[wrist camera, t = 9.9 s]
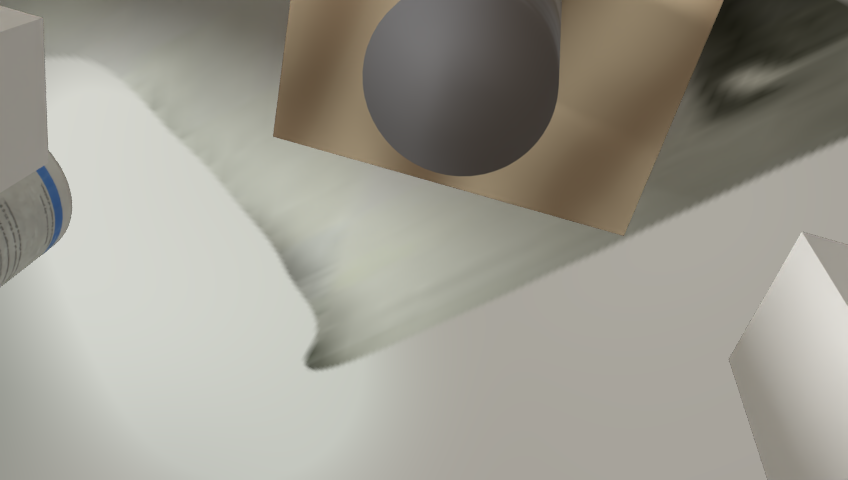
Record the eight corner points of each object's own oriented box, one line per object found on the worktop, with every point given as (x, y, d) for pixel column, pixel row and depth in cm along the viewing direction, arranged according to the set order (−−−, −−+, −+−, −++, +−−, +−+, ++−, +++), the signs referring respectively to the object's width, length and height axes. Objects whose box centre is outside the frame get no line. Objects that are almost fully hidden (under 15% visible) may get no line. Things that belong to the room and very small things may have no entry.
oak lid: (280, 128, 33) (149, 259, 23) (337, -295, 25) (174, -393, 15) (622, 225, 33) (648, 404, 22) (791, -179, 25) (956, -195, 14)
